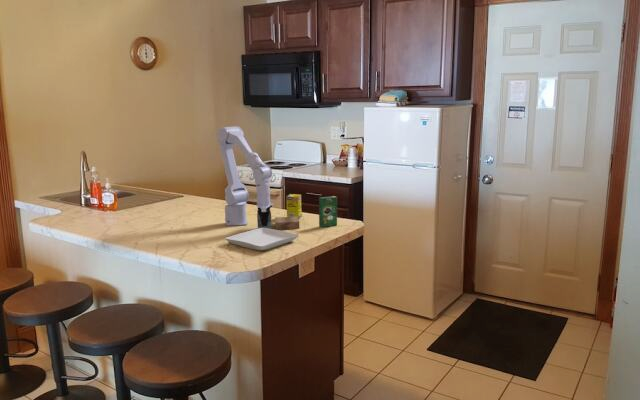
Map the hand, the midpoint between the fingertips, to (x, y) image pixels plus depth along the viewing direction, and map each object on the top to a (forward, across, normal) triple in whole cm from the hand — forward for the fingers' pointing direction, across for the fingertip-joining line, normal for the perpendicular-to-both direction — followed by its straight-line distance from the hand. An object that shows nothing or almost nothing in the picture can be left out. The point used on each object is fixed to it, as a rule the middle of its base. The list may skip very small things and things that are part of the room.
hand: (264, 224), depth 223 cm
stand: (+2, +3, -10) cm, 11 cm away
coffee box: (+2, 0, -28) cm, 28 cm away
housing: (+2, 0, 0) cm, 2 cm away
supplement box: (+2, +18, -14) cm, 23 cm away
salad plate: (+2, -22, +1) cm, 22 cm away
